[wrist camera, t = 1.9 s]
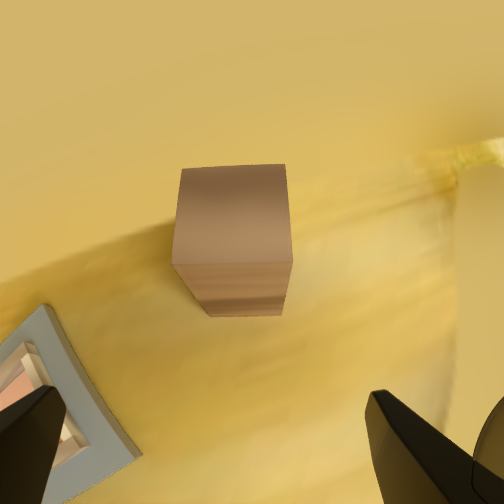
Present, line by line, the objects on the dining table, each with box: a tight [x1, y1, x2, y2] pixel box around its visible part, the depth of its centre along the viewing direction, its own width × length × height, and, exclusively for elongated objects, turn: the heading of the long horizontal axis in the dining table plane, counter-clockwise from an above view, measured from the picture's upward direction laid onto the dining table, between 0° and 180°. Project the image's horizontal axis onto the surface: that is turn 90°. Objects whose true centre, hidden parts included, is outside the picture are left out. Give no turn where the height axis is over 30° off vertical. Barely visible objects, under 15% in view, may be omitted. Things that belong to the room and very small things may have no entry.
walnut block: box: [171, 164, 293, 317], centre depth 18 cm, size 5×5×10 cm
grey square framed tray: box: [0, 304, 143, 504], centre depth 17 cm, size 14×14×3 cm
